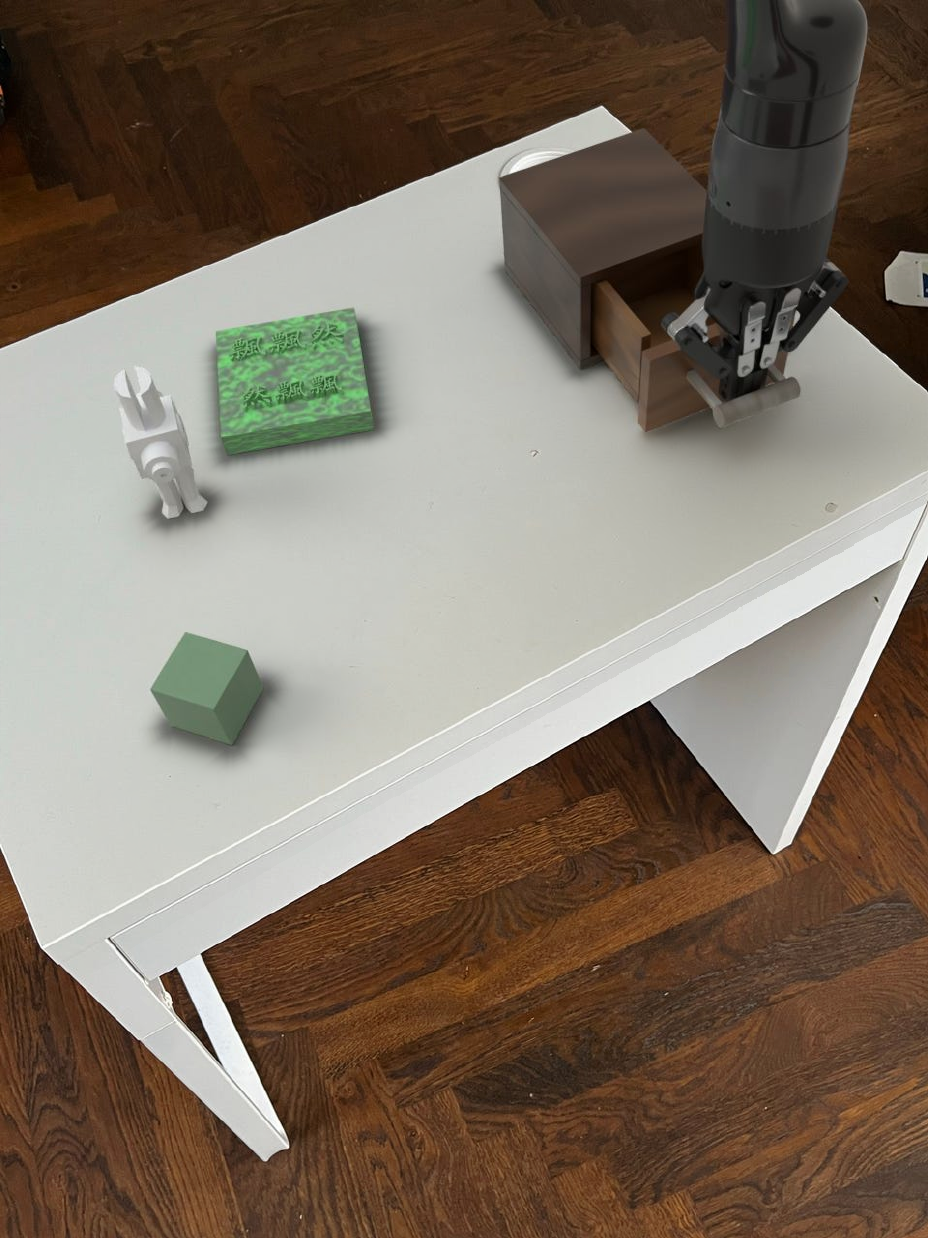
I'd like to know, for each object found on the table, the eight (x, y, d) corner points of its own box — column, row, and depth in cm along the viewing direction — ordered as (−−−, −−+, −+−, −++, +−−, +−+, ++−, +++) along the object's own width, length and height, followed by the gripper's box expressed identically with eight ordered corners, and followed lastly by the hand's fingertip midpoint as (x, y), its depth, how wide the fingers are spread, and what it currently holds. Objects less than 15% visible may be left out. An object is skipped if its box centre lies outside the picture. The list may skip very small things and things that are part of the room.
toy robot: (200, 456, 87) (152, 333, 77) (217, 530, 83) (168, 409, 73) (149, 470, 87) (94, 348, 77) (163, 545, 82) (107, 425, 72)
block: (264, 687, 74) (248, 649, 71) (232, 745, 72) (213, 709, 69) (204, 669, 76) (185, 631, 72) (170, 726, 73) (149, 689, 70)
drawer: (824, 424, 82) (842, 351, 77) (682, 482, 80) (690, 410, 75) (695, 282, 92) (703, 208, 87) (566, 330, 90) (565, 257, 85)
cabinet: (724, 315, 91) (736, 220, 84) (580, 369, 89) (580, 277, 82) (639, 221, 99) (643, 127, 92) (504, 269, 97) (498, 177, 89)
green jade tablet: (227, 455, 87) (219, 432, 85) (221, 349, 94) (214, 326, 92) (374, 429, 87) (369, 405, 85) (357, 325, 94) (352, 302, 92)
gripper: (707, 257, 63) (684, 470, 77) (910, 182, 66) (851, 403, 80) (640, 186, 67) (630, 401, 82) (833, 118, 70) (790, 339, 84)
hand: (739, 401), depth 81 cm, fingers closed
